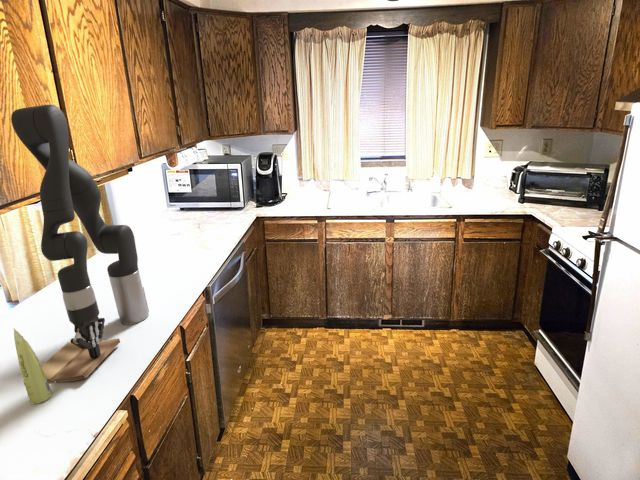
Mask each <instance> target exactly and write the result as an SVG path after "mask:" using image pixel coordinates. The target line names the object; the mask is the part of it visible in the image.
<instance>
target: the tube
mask: <svg viewBox="0 0 640 480" xmlns="http://www.w3.org/2000/svg"><path fill="white" fill-rule="evenodd" d="M13 336H14V337H13V339H14V345H15V350H16V355H17V359H18V360H17V361H18V364H19V368H20V372H21V376H22V380H23V383H24V386H25V390H26V392H27V396H28V400H29V402H30V403H31V404H40V403H43V402H46V401H47V400H49V398H51V396H52V394H53V392H52V389H51V387H50V385H49V384H50V383H48V381H47V379H46V376H45V374H44V371H43V369H42V367H41V366H42V365H41V363H40V360H39V359H38V357H37V354H36V353H35V352H34V349H33V347H32V346H31V345H30V343H29V342H28V341H27V340H26V339H25V338H24V336H23V335H21V333H19V331H17V329H16V328H14V327H13Z"/></svg>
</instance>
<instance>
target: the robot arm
mask: <svg viewBox="0 0 640 480" xmlns="http://www.w3.org/2000/svg"><path fill="white" fill-rule="evenodd" d="M10 121H11V125H12V128H13V130H14V133H15V134H16V136H17V137H18V139H19V140H20V141H21V143H22V144H23V145H24V146H25V148H26V149H27V150H28V151H29V153H30V154H32V155H33V157H34V158H35V159H36V160H37V161H38V163H39V164H40V165H41V166H42V167H43V169H44V170H45V172H44V174H43V177H42V180H41V183H40V187H39V199H40V205H41V209H42V215H43V223H42V224H43V226H42V234H41V243H40V251H41V252H42V255H43V257H45V258H46V259H47V260H48V261H51V262H55V261H62V260H63V261H65V260H69V259H70V260H72V259H73V263H72V264H68V265H67V266H64V267H62V268H60V269H59V270H58V271H57V279H58V282H59V285H60V286H59V287H60V289H61V292H62V299H63V303H64V306H65V309H66V313H67V317H68V320H69V322H70V323H71V324H72V325H74V333H75V334H74V337H73V338H71V339H70V342H71V343H72V344H74V345H76V346H77V347H79V348H81V349H88V352H89V355H90V357H91V358H98V357H99V356H100V355H101V354H100V348H99V345H98V344H99V341H100V340H101V339H102V338H103V335H104V328H105V327H104V326H105V322H106V320H105V317H99V316H100V315H99V314H100V310H99V306H98V302H97V299H96V295H95V292H94V288H93V286H92V284H91V280H90V276H89V272H88V263H87V262H88V261H87V258H88V246H89V245H88V239H87V236H85V234H83V233H82V232H81V231H78V230H75V231H67V232H58V231H59V228H60V227H61V226H62V225H65V224H68V223H70V222H71V223H72V222H73V221H75V214H76V216H77V218H78V220H79V221H80V222H81V224H82V225H83V228H84V229H85V230H86V232H87V234H88V236H89V238H90V240H91V242H92V244H93V245H94V247H95V248H96V249H97V251H98V252H100V253H101V254H105V255H106V254H107V255H111V254H112V255H114V254H115V255H118V260H116V261H113V262H112V263H110V264H109V265H108V266H107V270H106V271H107V274H108V278H109V282H110V287H111V290H112V294H113V298H114V302H115V305H116V306H115V307H116V309H117V314H118V318H119V322H120V323H121V324H123V325H133V324H137V323H140V322H142V321H144V320H145V319H147V318H148V317H149V312H150V310H149V306H148V305H149V304H148V300H147V296H146V292H145V287H144V286H143V283H142V279H141V278H142V277H141V275H140V270H139V266H138V263H139V262H138V261H139V257H138V252H137V246H136V240H135V236H134V232H133V230H132V228H131V227H130V226H129V225H127V224H115V225H114V224H112V225H109V224H107V223H106V222H105V221H104V220H103V218H102V217H101V214H100V208H101V203H102V193H101V190H100V188H99V185H98V184H97V182H96V181H95V180H94V179H95V178H93V176H92V174H91V173H90V172H88V170H86V168H85V167H82V166H81V165H80V164H79V163H77V162H75V161H73V160H72V159H70V151H69V150H70V143H69V142H70V141H69V140H70V139H69V128H68V126H69V125H68V121H67V118H66V115H65V113H64V112H63V111H62V109H61V108H60V107H58V106H56V105H55V104H44V105H34V106H28V107H22V108H18V109H15V110H14V111H12V113H11V117H10Z"/></svg>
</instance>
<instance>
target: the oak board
mask: <svg viewBox="0 0 640 480" xmlns="http://www.w3.org/2000/svg"><path fill="white" fill-rule="evenodd" d="M84 350H85V349H81V348H79V347H77V346H76V345H74V344H72V343H71V341H69V342H67V343H66V344H65V345H64V346H62V347H61V348H60V349H59V350H57V352H56V353H55V354H53V355H52V357H50V358H49V359H48V360H47V361H45V362H44V363H43V364H42V365H41V367H42V369H43V371H44V374H45V376H46V379H47V381H48V384H52V383H56V382H55V380H54V379H55V378H56V377H57V376H58V375H59V374H60V373H61V372H62V371H63V370H64V369H65V368H66V367H67V366H68V365H70V364H71V363H72V362H73V361H74V360H75V359H76V358H77V357H78V356H79V355H80V354H81V353H82V352H83V351H84Z"/></svg>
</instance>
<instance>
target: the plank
mask: <svg viewBox="0 0 640 480" xmlns="http://www.w3.org/2000/svg"><path fill="white" fill-rule="evenodd" d="M120 343H121V339H120V338H119V337H118V338H114V339H113V338H112V339H107V340H99V344H98V345H99V348H100V354H101V355H100V356H99V357H98V358H91V357H90V355H89V352H88V349H85V350H84V351H83V352H82V353H81V354H80V355H79V356H78V357H77V358H76V359H75V360H74V361H73V362H72V363H71V364H70V365H68V366H67V367H66V368H65V369H64V370H63V371H62V372H61V373H60V374H59V375H58V376H57V377H56V378H55V379H54V380H55V382H54V383H57V384H58V383H64V382H71V381H77V380H78V381H79V380H86V379H87V377H88V376H89V375H90V374H91V373H92V372H93V371H94V370H95V369H96V368H97V367H98V366H99V365H100V364H101V363H102V362H103V360H105V359H106V358H107V356H108V355H109V354H111V352H112V351H114V349H115V348H116V347H118V345H119V344H120Z"/></svg>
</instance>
